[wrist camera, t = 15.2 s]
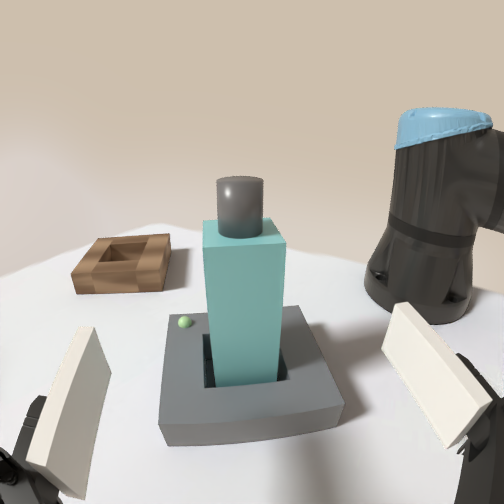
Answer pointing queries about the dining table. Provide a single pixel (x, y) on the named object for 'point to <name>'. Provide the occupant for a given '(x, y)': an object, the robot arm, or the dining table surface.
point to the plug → (243, 284)
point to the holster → (124, 265)
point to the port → (244, 389)
